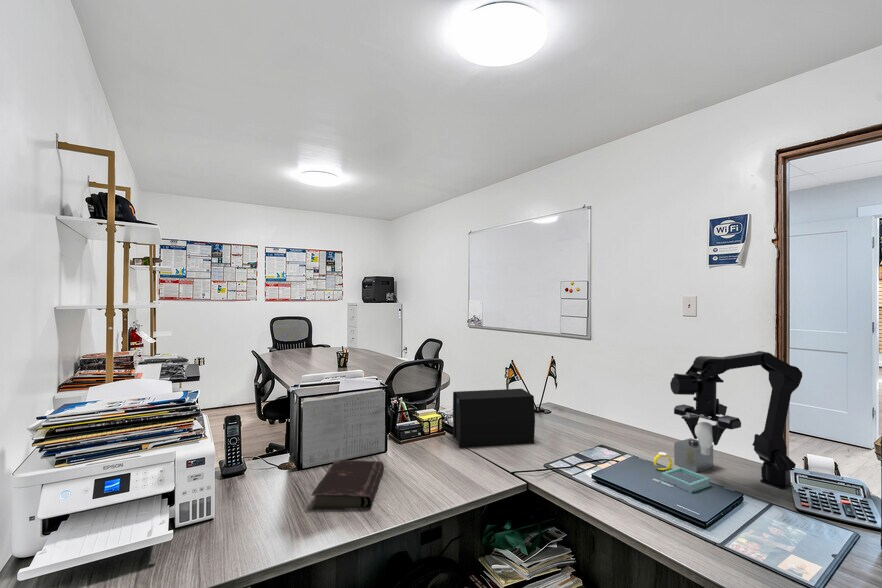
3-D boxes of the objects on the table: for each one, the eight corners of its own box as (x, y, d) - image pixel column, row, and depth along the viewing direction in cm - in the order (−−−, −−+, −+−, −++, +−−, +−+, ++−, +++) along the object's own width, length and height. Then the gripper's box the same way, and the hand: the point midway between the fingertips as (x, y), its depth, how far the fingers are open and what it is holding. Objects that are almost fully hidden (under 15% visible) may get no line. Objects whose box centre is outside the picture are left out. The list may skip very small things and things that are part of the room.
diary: (384, 474, 144) (384, 460, 144) (371, 512, 119) (371, 495, 119) (331, 473, 144) (332, 459, 144) (308, 511, 119) (308, 494, 119)
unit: (713, 467, 146) (713, 442, 146) (696, 472, 142) (696, 447, 142) (690, 458, 154) (690, 435, 154) (673, 464, 149) (673, 439, 149)
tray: (710, 486, 132) (709, 478, 132) (691, 493, 127) (691, 485, 127) (680, 474, 141) (680, 466, 141) (661, 480, 136) (661, 472, 136)
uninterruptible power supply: (452, 435, 181) (452, 390, 181) (524, 431, 186) (524, 387, 186) (460, 449, 165) (460, 400, 165) (538, 444, 170) (538, 396, 170)
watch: (657, 472, 143) (655, 455, 143) (652, 469, 146) (651, 452, 146) (674, 471, 143) (672, 454, 143) (669, 467, 146) (668, 451, 146)
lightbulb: (694, 457, 133) (695, 423, 133) (693, 450, 139) (693, 418, 139) (718, 460, 130) (718, 426, 130) (715, 454, 136) (716, 421, 136)
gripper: (751, 399, 130) (750, 447, 130) (692, 386, 146) (692, 430, 146) (731, 402, 125) (730, 453, 125) (673, 389, 141) (672, 434, 141)
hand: (705, 441), depth 134 cm, fingers closed on lightbulb, 6 cm apart
